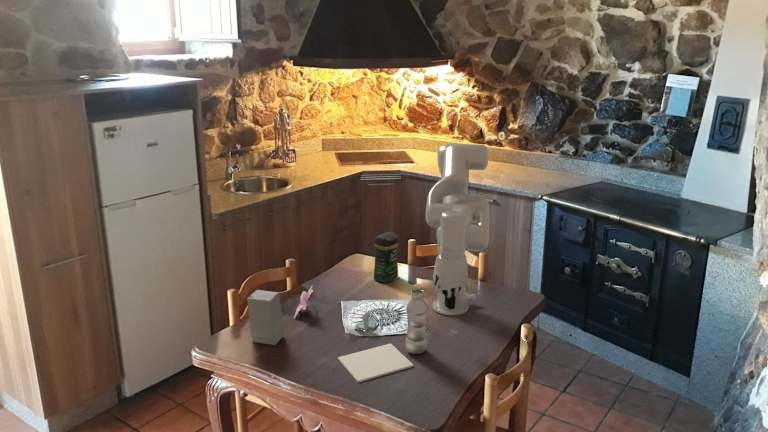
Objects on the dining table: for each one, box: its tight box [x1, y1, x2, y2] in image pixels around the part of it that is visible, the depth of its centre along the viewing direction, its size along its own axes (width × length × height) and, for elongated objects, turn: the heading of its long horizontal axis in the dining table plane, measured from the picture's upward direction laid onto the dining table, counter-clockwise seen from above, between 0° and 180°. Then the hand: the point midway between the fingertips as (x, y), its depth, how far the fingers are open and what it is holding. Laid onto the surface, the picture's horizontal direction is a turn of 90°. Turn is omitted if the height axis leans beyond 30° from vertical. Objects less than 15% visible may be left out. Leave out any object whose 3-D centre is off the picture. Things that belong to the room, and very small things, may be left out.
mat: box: [337, 342, 414, 383], centre depth 181 cm, size 18×14×1 cm
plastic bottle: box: [404, 288, 429, 355], centre depth 184 cm, size 6×7×20 cm
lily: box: [293, 285, 319, 319], centre depth 210 cm, size 12×12×10 cm
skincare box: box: [246, 289, 285, 346], centre depth 191 cm, size 8×7×16 cm
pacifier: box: [353, 311, 376, 331], centre depth 200 cm, size 7×6×6 cm
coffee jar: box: [373, 231, 400, 283], centre depth 237 cm, size 10×8×19 cm
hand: (449, 307), depth 188 cm, fingers closed
